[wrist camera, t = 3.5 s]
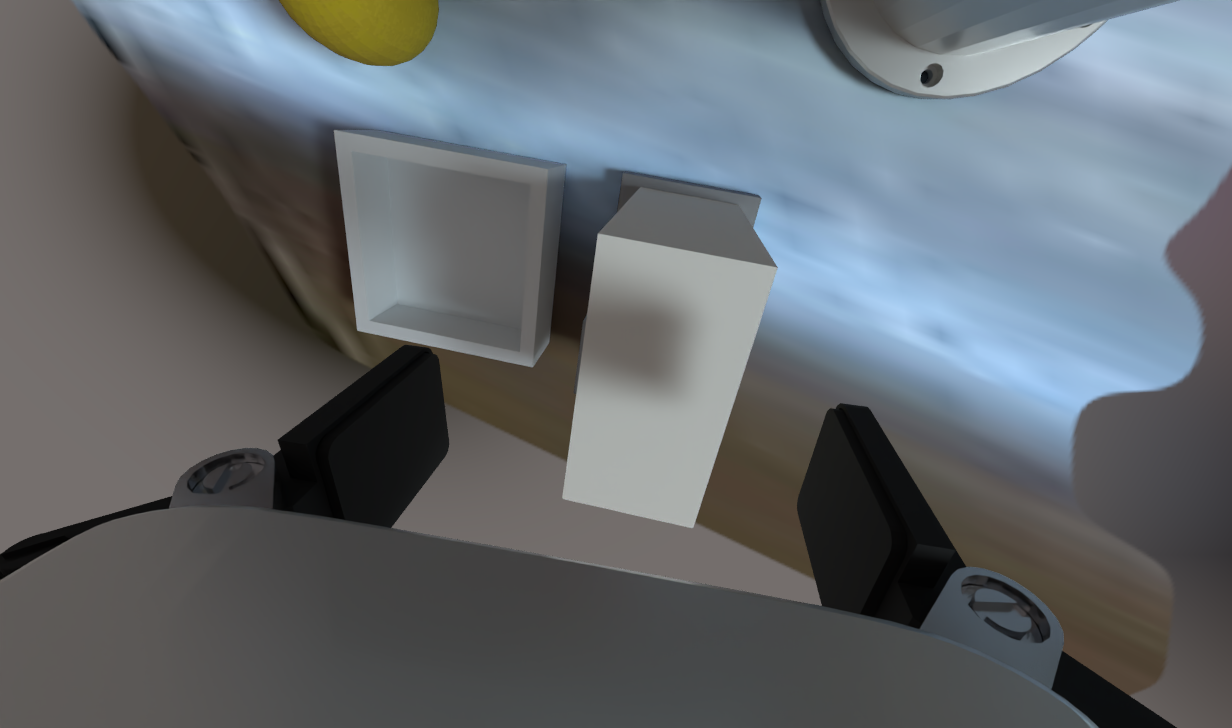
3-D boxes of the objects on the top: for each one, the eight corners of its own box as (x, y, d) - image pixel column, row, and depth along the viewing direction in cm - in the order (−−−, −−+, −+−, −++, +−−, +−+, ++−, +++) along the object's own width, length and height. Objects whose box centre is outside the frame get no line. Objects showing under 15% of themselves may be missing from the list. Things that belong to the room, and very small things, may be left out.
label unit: (625, 171, 24) (564, 208, 13) (758, 195, 24) (821, 256, 12) (597, 355, 29) (535, 502, 18) (706, 377, 29) (716, 543, 17)
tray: (377, 130, 25) (333, 129, 22) (566, 164, 25) (548, 169, 22) (391, 310, 30) (357, 330, 27) (549, 342, 30) (532, 367, 26)
